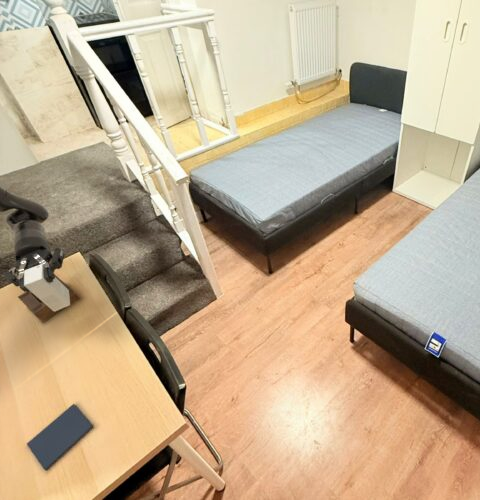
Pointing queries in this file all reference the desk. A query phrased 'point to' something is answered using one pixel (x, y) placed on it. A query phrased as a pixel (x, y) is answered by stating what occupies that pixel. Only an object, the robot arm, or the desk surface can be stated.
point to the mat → (59, 436)
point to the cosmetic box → (46, 288)
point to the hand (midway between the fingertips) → (38, 284)
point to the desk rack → (42, 309)
